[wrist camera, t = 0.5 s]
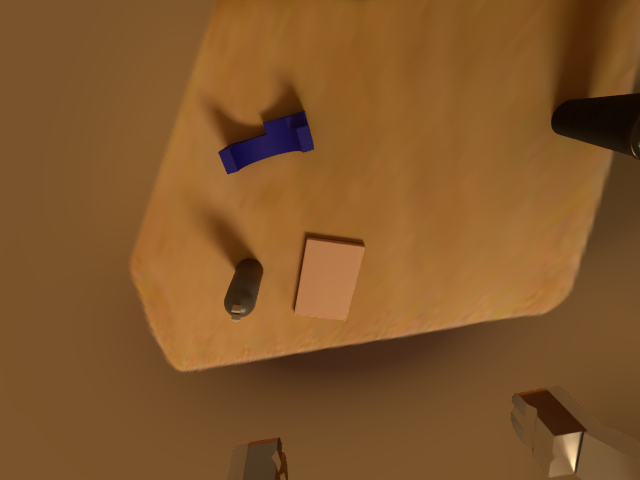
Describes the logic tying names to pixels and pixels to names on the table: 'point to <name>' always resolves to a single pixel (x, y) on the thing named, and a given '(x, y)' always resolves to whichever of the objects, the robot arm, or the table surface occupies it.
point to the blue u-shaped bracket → (269, 142)
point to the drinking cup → (602, 122)
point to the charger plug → (243, 289)
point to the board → (328, 278)
